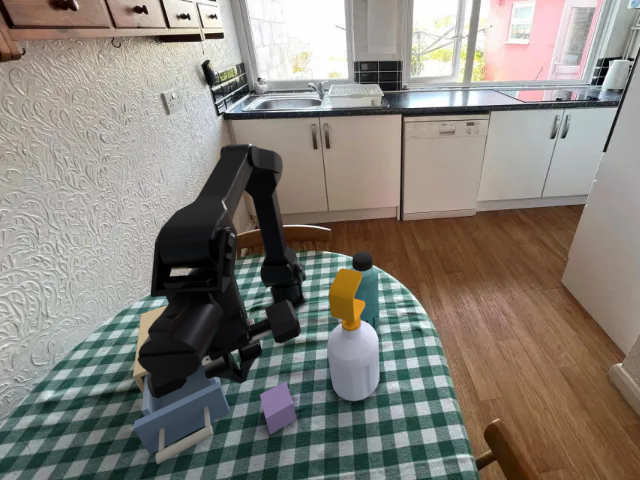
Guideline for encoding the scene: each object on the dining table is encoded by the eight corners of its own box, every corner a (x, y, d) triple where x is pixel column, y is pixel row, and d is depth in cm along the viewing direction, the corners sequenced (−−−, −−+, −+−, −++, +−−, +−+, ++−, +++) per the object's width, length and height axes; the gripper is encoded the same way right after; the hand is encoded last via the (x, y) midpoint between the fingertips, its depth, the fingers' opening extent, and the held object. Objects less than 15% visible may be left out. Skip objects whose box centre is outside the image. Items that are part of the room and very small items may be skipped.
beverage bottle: (366, 312, 74) (363, 242, 65) (386, 329, 69) (385, 255, 61) (345, 328, 70) (338, 255, 61) (364, 347, 65) (360, 271, 57)
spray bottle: (385, 363, 62) (384, 264, 51) (369, 409, 54) (362, 303, 44) (344, 351, 64) (335, 254, 54) (323, 393, 57) (306, 289, 46)
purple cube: (289, 396, 56) (285, 381, 54) (296, 419, 53) (293, 403, 51) (264, 410, 54) (259, 394, 52) (270, 434, 51) (265, 418, 49)
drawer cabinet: (228, 372, 61) (217, 341, 57) (150, 408, 55) (132, 376, 51) (219, 318, 73) (210, 290, 69) (154, 343, 67) (141, 313, 63)
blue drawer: (233, 439, 49) (223, 413, 47) (147, 488, 44) (129, 462, 41) (220, 349, 64) (212, 325, 61) (154, 377, 59) (141, 352, 56)
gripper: (275, 250, 52) (289, 318, 58) (138, 292, 43) (173, 366, 50) (294, 292, 43) (308, 367, 50) (127, 355, 34) (170, 434, 41)
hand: (242, 379), depth 48 cm, fingers closed
